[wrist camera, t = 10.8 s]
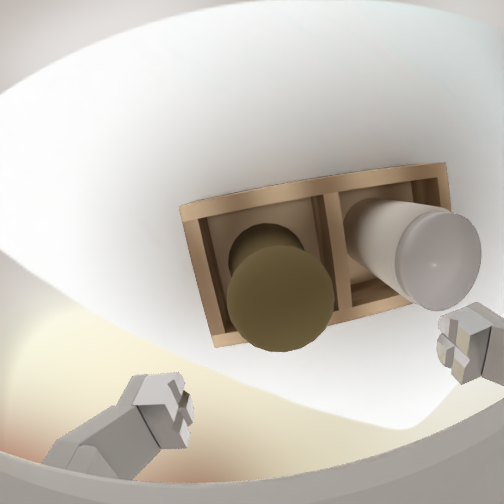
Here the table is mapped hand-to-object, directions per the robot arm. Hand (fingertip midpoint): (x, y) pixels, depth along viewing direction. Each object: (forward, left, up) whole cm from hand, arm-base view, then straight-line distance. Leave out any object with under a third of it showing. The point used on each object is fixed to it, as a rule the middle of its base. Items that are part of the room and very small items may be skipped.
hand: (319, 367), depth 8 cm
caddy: (-4, 0, -17) cm, 17 cm away
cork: (+1, +1, -16) cm, 16 cm away
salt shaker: (-8, 0, -16) cm, 18 cm away
